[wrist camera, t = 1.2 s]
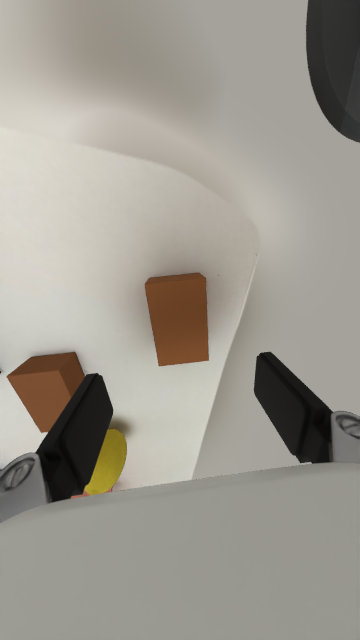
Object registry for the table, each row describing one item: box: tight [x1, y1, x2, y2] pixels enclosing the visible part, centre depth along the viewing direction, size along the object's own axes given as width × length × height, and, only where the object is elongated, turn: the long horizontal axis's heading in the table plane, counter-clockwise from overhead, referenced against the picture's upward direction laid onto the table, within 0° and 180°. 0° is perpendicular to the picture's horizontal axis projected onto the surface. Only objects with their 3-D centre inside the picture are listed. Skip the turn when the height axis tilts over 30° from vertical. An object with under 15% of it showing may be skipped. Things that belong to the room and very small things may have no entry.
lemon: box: [84, 428, 127, 495], centre depth 23 cm, size 6×6×8 cm
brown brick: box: [7, 352, 85, 433], centre depth 21 cm, size 6×9×4 cm, turn 6°
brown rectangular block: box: [145, 273, 209, 366], centre depth 18 cm, size 6×9×4 cm, turn 5°
